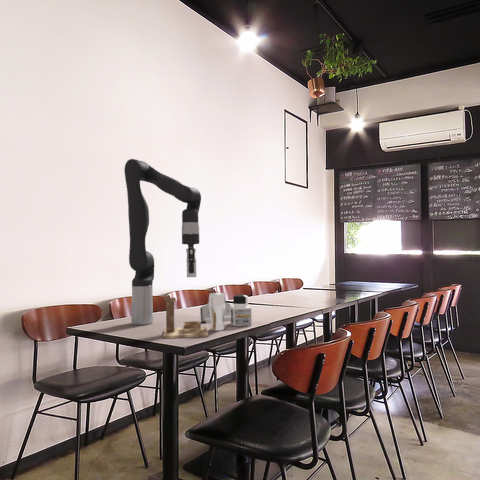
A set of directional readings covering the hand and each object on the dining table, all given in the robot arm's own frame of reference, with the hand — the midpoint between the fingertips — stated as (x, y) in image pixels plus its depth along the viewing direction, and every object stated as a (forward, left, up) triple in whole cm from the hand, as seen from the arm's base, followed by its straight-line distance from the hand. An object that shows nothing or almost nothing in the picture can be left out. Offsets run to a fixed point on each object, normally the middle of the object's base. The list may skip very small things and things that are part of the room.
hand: (191, 272), depth 178 cm
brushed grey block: (0, 0, -2) cm, 2 cm away
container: (+22, +4, -24) cm, 32 cm away
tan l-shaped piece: (-2, -12, -23) cm, 27 cm away
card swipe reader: (+12, +16, -24) cm, 31 cm away
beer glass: (+10, -7, -24) cm, 27 cm away
